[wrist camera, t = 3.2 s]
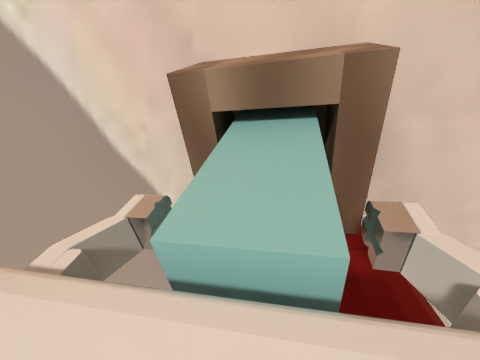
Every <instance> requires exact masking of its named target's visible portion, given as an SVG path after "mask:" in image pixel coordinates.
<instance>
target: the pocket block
mask: <svg viewBox="0 0 480 360" xmlns="http://www.w3.org/2000/svg"><path fill="white" fill-rule="evenodd" d="M399 51H400V48H399V47H393V46H387V45H380V44H374V43H368V42H367V43H359V44H350V45H342V46H334V47H326V48H317V49H309V50H301V51H293V52H284V53H276V54H268V55H260V56H251V57H243V58H235V59H226V60H218V61H210V62H202V63H198V64H195V65H192V66H189V67H186V68H183V69H180V70H177V71H174V72H171V73H168V74H167V78H168V81H169V85H170V89H171V93H172V96H173V100H174V104H175V108H176V111H177V115H178V119H179V123H180V126H181V130H182V134H183V137H184V141H185V145H186V149H187V152H188V156H189V160H190V164H191V167H192V171H193V175H194V177H195V175H196V174H197V172H198V171H199V170H200V168H201V167H202V165H203V164H204V162H205V161H206V160H207V158H208V157H209V155H210V154H211V153H212V151H213V150H214V148H215V147H216V145H217V144H218V143H219V141H220V140H221V138H222V137H223V135H224V134H225V133H226V131H227V130H228V128H229V127H230V126H231V124H232V123H233V121H234V120H235V118H236V117H237V116H238V114H239V113H240V111H241V110H247V109H263V108H279V107H294V106H310V105H314V106H315V111H316V115H317V119H318V123H319V128H320V132H321V136H322V140H323V145H324V149H325V153H326V157H327V162H328V166H329V170H330V174H331V179H332V183H333V187H334V191H335V196H336V200H337V204H338V208H339V213H340V217H341V221H342V226H343V230H344V233H346V234H359V229H360V225H361V220H362V216H363V211H364V207H365V203H366V198H367V194H368V189H369V185H370V180H371V176H372V171H373V167H374V163H375V158H376V154H377V149H378V145H379V140H380V136H381V131H382V127H383V122H384V118H385V114H386V109H387V105H388V100H389V96H390V91H391V87H392V82H393V78H394V73H395V69H396V65H397V60H398V56H399Z"/></svg>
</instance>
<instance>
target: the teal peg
mask: <svg viewBox="0 0 480 360" xmlns="http://www.w3.org/2000/svg"><path fill="white" fill-rule="evenodd" d="M150 243H151V245H152V247H153V249H154V251H155V253H156V256H157V258H158V259H159V262H160V264H161V266H162V268H163V270H164V272H165V274H166V277H167V279H168V281H169V283H170V285H171V287H172V289H173V291H181V292H188V293H195V294H203V295H210V296H217V297H225V298H232V299H240V300H247V301H254V302H262V303H269V304H277V305H284V306H292V307H299V308H307V309H314V310H322V311H329V312H337V313H339V308H340V304H341V299H342V294H343V290H344V285H345V280H346V276H347V271H348V266H349V262H350V255H349V251H348V247H347V243H346V238H345V234H344V230H343V226H342V221H341V217H340V213H339V208H338V204H337V200H336V196H335V191H334V187H333V183H332V179H331V174H330V170H329V166H328V162H327V157H326V153H325V149H324V145H323V140H322V136H321V132H320V128H319V123H318V119H317V115H316V111H315V106H314V105H310V106H294V107H279V108H263V109H247V110H241V111H240V113H239V114H238V116H237V117H236V118H235V120H234V121H233V123H232V124H231V126H230V127H229V128H228V130H227V131H226V133H225V134H224V135H223V137H222V138H221V140H220V141H219V143H218V144H217V145H216V147H215V148H214V150H213V151H212V153H211V154H210V155H209V157H208V158H207V160H206V161H205V162H204V164H203V165H202V167H201V168H200V170H199V171H198V172H197V174H196V175H195V177H194V178H193V180H192V181H191V182H190V184H189V185H188V187H187V188H186V189H185V191H184V192H183V194H182V195H181V197H180V198H179V199H178V201H177V202H176V204H175V205H174V207H173V208H172V209H171V211H170V212H169V214H168V215H167V216H166V218H165V219H164V221H163V222H162V224H161V225H160V226H159V228H158V229H157V231H156V232H155V234H154V235H153V236H152V238H151V239H150Z"/></svg>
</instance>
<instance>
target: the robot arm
mask: <svg viewBox="0 0 480 360" xmlns="http://www.w3.org/2000/svg"><path fill="white" fill-rule="evenodd" d="M171 204H172V202H171V200H170V197H168V196H165V195H141V194H140V195H139V194H138V195H135V196H134V197H133V198H132V199H131V200H130V201H129V202H128V203H127V204H126V205H125V206H124V207H123V208H122V209H121V210H120V211H119V212H118V213H117V214H116V215H115V216H114V217H109V218H107V219H105V220H103V221H101V222H99V223H97V224H95V225H93V226H91V227H89V228H86V229H85V230H82V231H80V232H78V233H76V234H74V235H72V236H70V237H68V238H66V239H64V240H62V241H60V242H58V243H56V244H54V245H52V246H50V247H49V248H48V249H47V250H46V251H45V252H44V253H42V254H41V255H40V256H39V257H38V258H37V259H35V260H34V261H33V262H32V263H31V264H30V265H29V266H28V267H26V268H25V269H24V270H17V269H9V268H2V267H0V360H480V253H479V252H477V251H475V250H473V249H471V248H470V247H468V246H466V245H464V244H463V243H461V242H459V241H457V240H455V239H454V238H452V237H450V236H448V235H442V234H441V232H440V231H439V230H438V228H437V227H436V226H435V224H434V223H433V222H432V220H431V219H430V218H429V216H428V215H427V214H426V212H425V211H424V210H423V208H422V207H421V206H420V204H419V203H417V202H376V201H368V202H367V204H366V208H365V211H366V214H367V216H366V217H365V218H364V219H363V221H362V238H363V241H364V244H365V245H367V246H368V247H369V250H368V256H369V259H370V262H371V265H372V268H373V269H377V270H386V271H395V272H401V274H402V275H403V276H404V277H405V278H406V279H407V280H408V281H409V282H410V283H411V284H412V285H413V286H414V287H415V288H416V289H417V290H418V291H419V292H420V293H421V294H422V295H423V296H424V297H425V298H426V299H428V300H429V301H430V302H431V303H432V304H433V305H434V306H435V307H436V308H437V309H438V310H439V311H440V312H441V313H442V314H443V315H444V316H445V317H446V318H447V319H448V320H449V321H450V322H451V323H452V325H451V327H450V328H448V327H441V326H434V325H426V324H419V323H411V322H404V321H396V320H389V319H382V318H374V317H367V316H359V315H352V314H344V313H337V312H329V311H322V310H314V309H307V308H299V307H292V306H284V305H277V304H269V303H262V302H254V301H247V300H240V299H232V298H225V297H217V296H210V295H203V294H195V293H188V292H181V291H173V290H166V289H158V288H151V287H143V286H136V285H128V284H121V283H114V282H106V281H104V280H105V279H106V278H107V277H109V276H110V275H111V274H113V273H114V272H115V271H116V270H118V269H119V268H120V267H122V266H123V265H124V264H125V263H127V262H128V261H129V260H131V259H132V258H133V257H135V256H136V255H137V254H138V253H140V252H141V251H142V250H143V249H153V247H152V245H151V243H150V239H151V238H152V236H153V235H154V234H155V232H156V231H157V229H158V228H159V226H160V225H161V224H162V222H163V221H164V219H165V218H166V216H167V215H168V214H169V212H170V211H171V209H172V208H171V207H170V206H171Z"/></svg>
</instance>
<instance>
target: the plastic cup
mask: <svg viewBox="0 0 480 360" xmlns="http://www.w3.org/2000/svg"><path fill="white" fill-rule="evenodd" d="M344 234H345V238H346V243H347V247H348V251H349V255H350V262H349V266H348V271H347V276H346V280H345V285H344V290H343V294H342V299H341V304H340V308H339V313H344V314H352V315H359V316H367V317H374V318H382V319H389V320H396V321H404V322H411V323H419V324H426V325H434V326H441V327H445V325H444V324H443V322H442V321H441V320H440V318H439V317H438V315H437V314H436V313H435V311H434V310H433V308H432V307H431V306H430V304H429V303H428V301H427V300H426V298H425V297H424V296H423V295H422V294H421V293H420V292H419V291H418V290H417V289H416V288H415V287H414V286H413V285H412V284H411V283H410V282H409V281H408V280H407V279H406V278H405V277H404V276H403V275H402V274H401V272H395V271H386V270H377V269H373V268H372V265H371V262H370V259H369V256H368V250H369V247H368V246H367V245H365V244H364V241H363V238H362V226H360V229H359V234H346V233H344Z"/></svg>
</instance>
